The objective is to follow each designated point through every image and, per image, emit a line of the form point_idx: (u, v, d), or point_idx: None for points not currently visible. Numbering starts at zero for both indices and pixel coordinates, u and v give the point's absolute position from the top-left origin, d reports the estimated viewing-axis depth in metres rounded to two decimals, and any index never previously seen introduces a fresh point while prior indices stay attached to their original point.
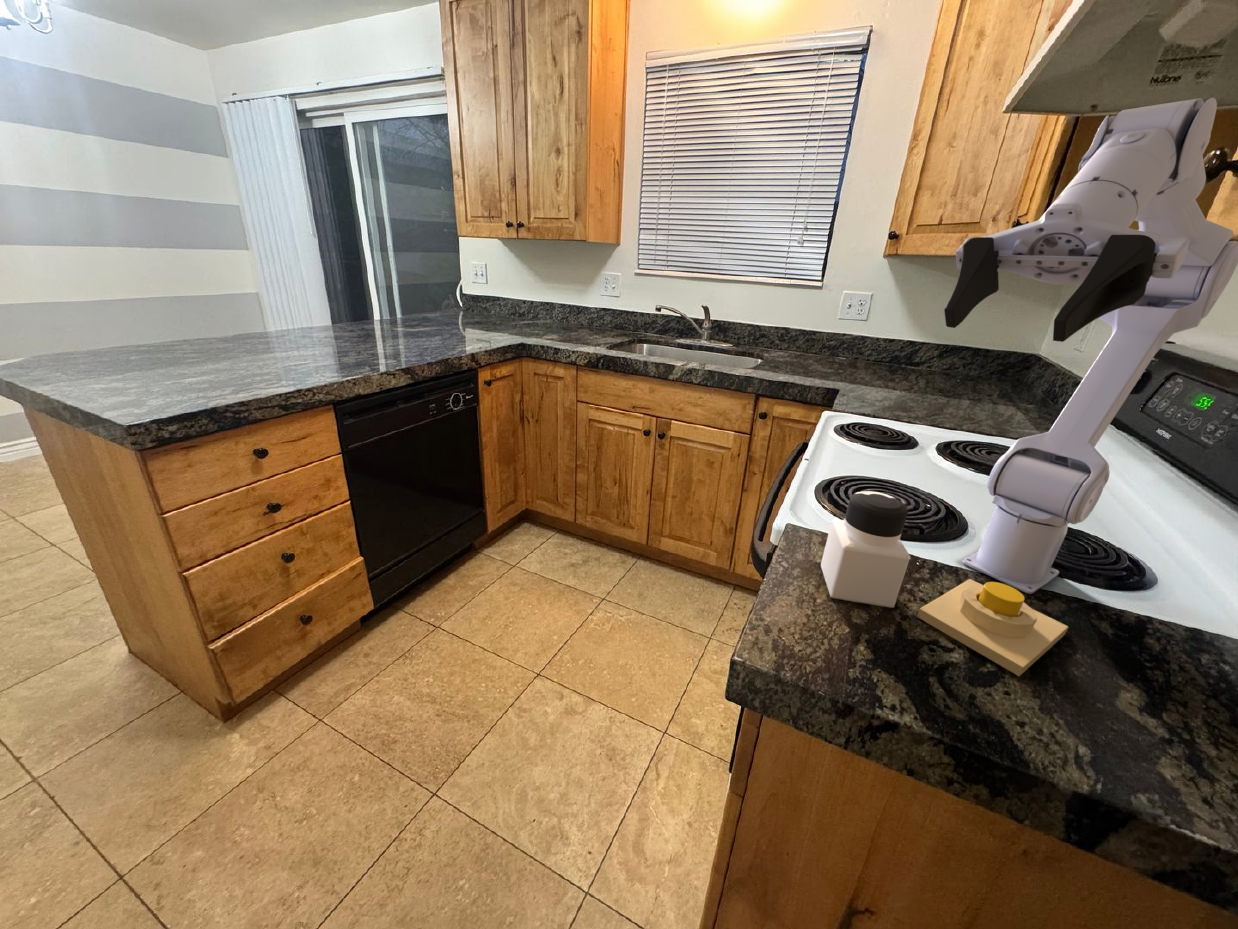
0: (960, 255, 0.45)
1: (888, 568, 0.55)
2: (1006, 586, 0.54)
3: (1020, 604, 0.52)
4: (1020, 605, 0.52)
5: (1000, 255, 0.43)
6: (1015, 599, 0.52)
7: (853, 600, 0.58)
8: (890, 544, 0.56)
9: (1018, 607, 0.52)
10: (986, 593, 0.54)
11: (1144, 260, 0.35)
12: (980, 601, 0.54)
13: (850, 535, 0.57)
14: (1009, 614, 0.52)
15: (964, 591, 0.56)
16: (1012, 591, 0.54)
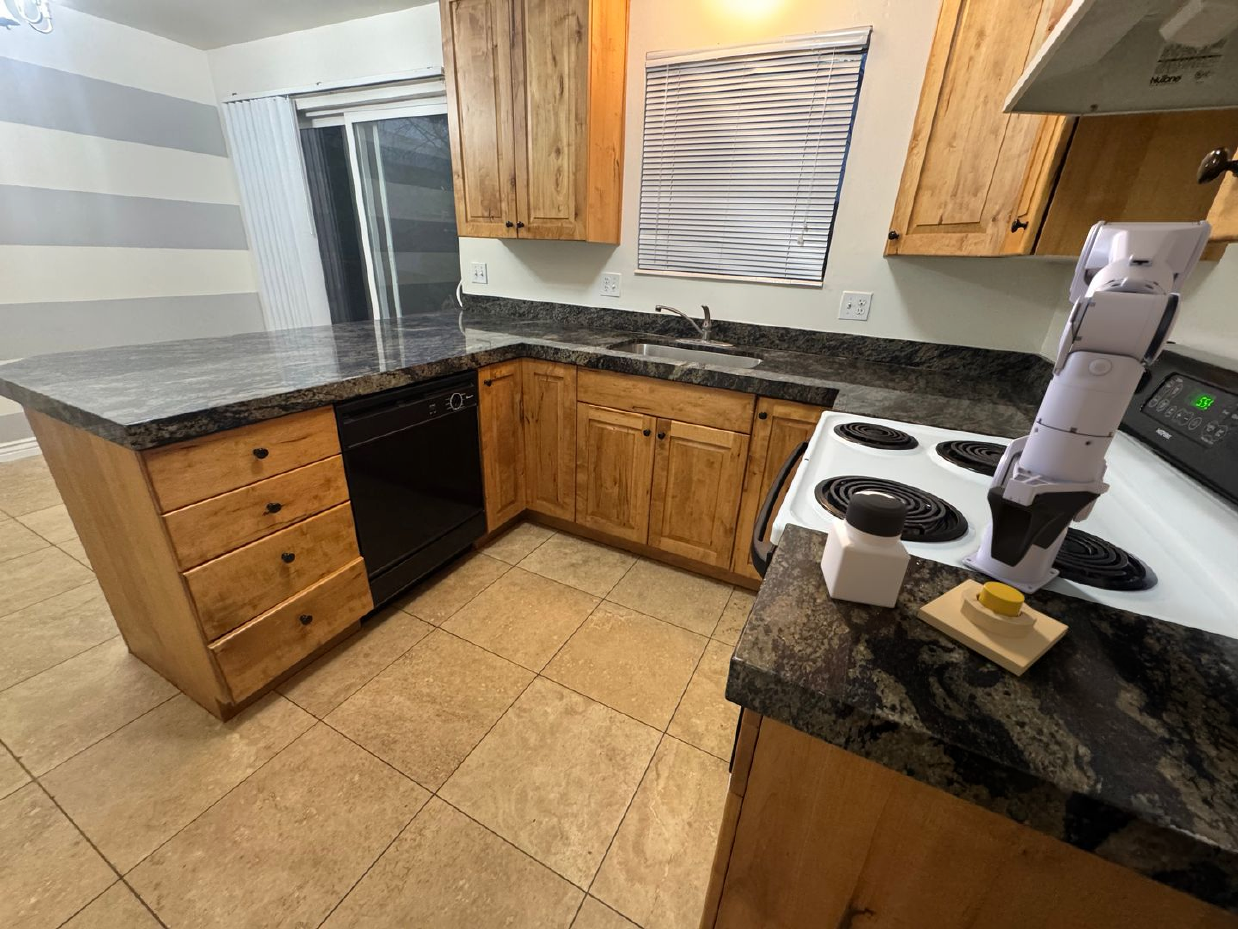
0: None
1: (888, 568, 0.55)
2: (1006, 586, 0.54)
3: (1020, 604, 0.52)
4: (1020, 605, 0.52)
5: None
6: (1015, 599, 0.52)
7: (853, 600, 0.58)
8: (890, 544, 0.56)
9: (1018, 607, 0.52)
10: (986, 593, 0.54)
11: None
12: (980, 601, 0.54)
13: (850, 535, 0.57)
14: (1009, 614, 0.52)
15: (964, 591, 0.56)
16: (1012, 591, 0.54)
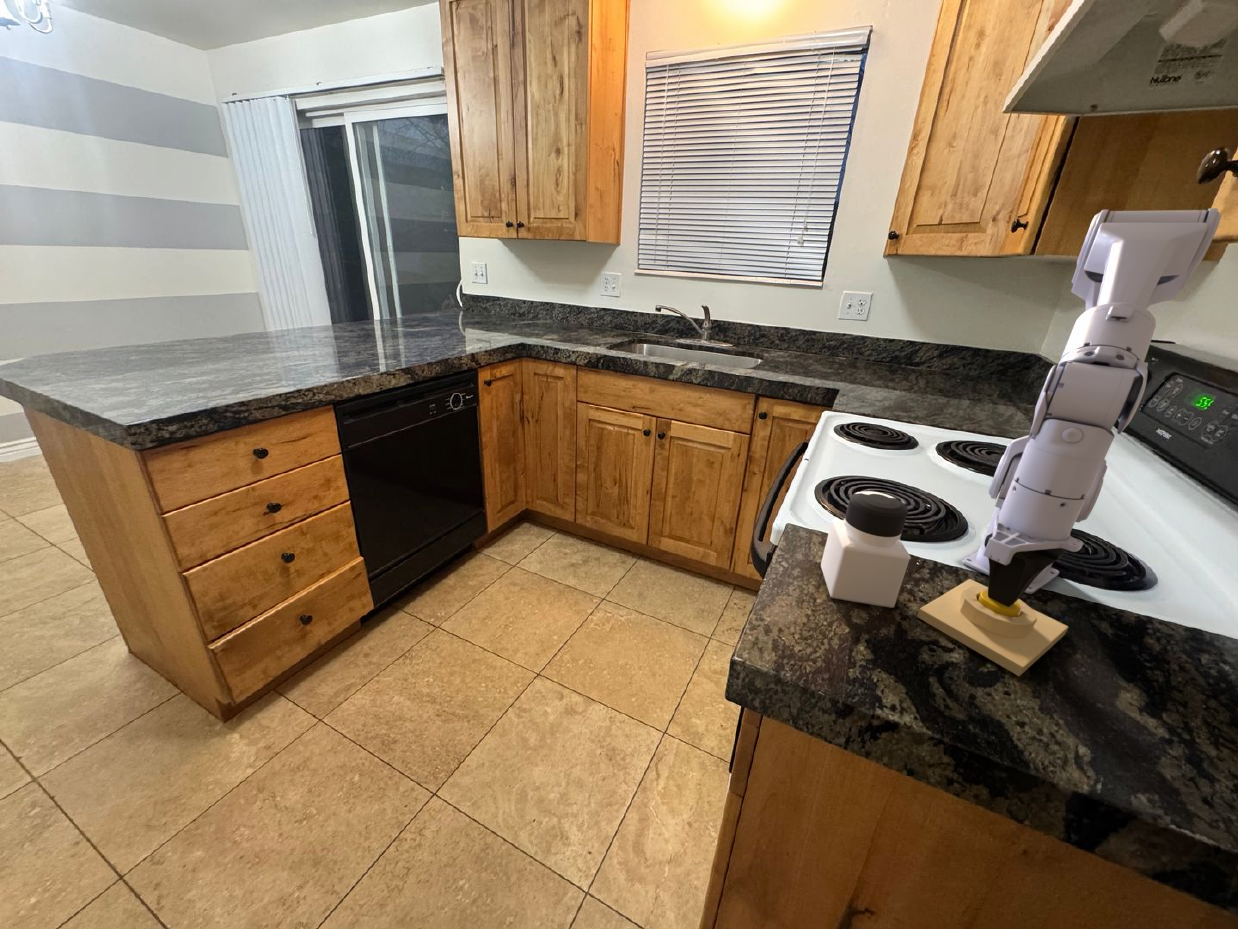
0: None
1: (888, 568, 0.55)
2: None
3: (1016, 613, 0.52)
4: (1016, 614, 0.53)
5: None
6: (1011, 607, 0.53)
7: (853, 600, 0.58)
8: (890, 544, 0.56)
9: (1014, 616, 0.53)
10: (983, 601, 0.54)
11: None
12: None
13: (850, 535, 0.57)
14: None
15: (964, 591, 0.56)
16: None
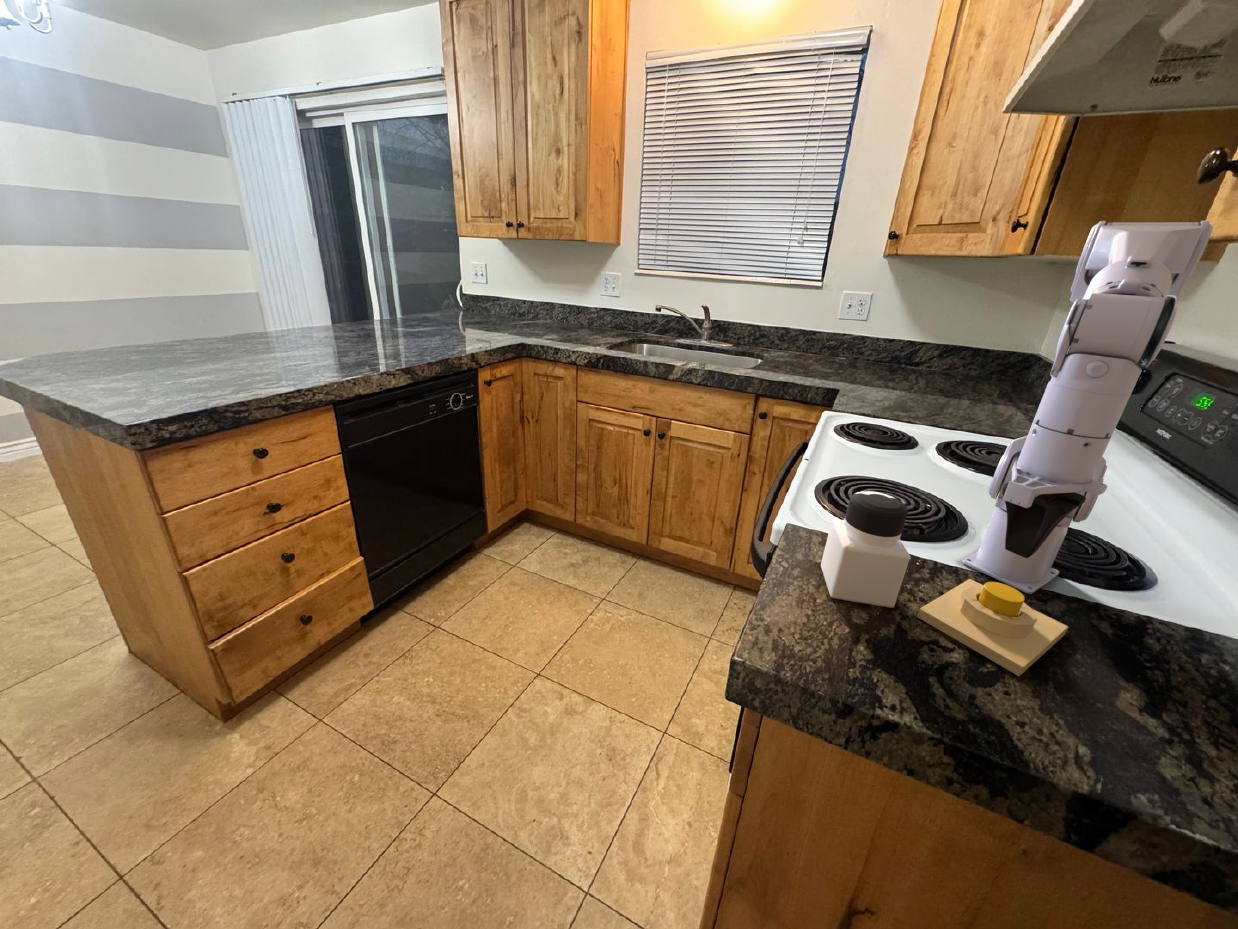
0: None
1: (888, 568, 0.55)
2: (1006, 586, 0.54)
3: (1020, 604, 0.52)
4: (1020, 605, 0.52)
5: None
6: (1015, 599, 0.52)
7: (853, 600, 0.58)
8: (890, 544, 0.56)
9: (1018, 607, 0.52)
10: (986, 593, 0.54)
11: None
12: (980, 601, 0.54)
13: (850, 535, 0.57)
14: (1009, 614, 0.52)
15: (964, 591, 0.56)
16: (1012, 591, 0.54)
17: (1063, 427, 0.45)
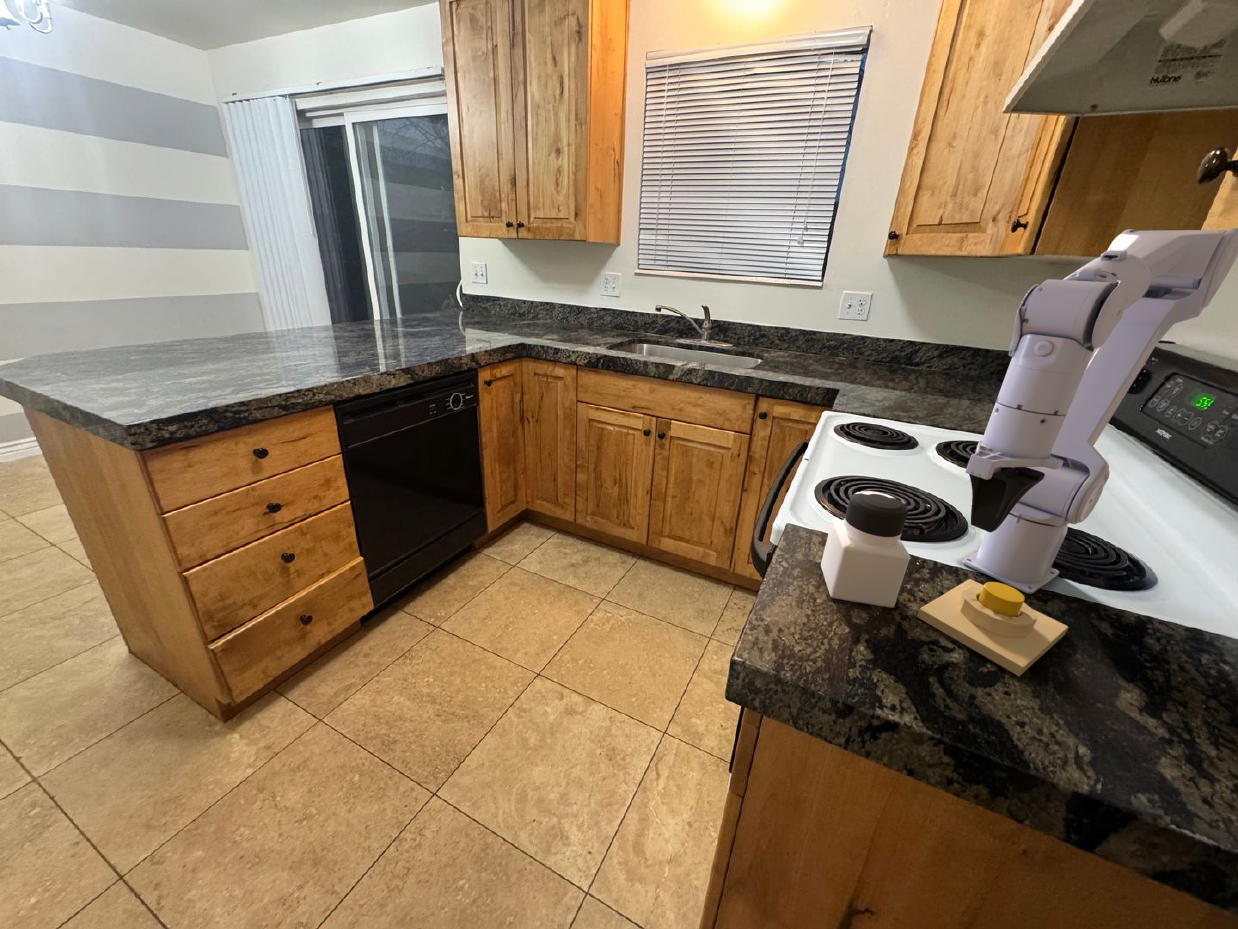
0: None
1: (888, 568, 0.55)
2: (1006, 586, 0.54)
3: (1020, 604, 0.52)
4: (1020, 605, 0.52)
5: (996, 468, 0.49)
6: (1015, 599, 0.52)
7: (853, 600, 0.58)
8: (890, 544, 0.56)
9: (1018, 607, 0.52)
10: (986, 593, 0.54)
11: None
12: (980, 601, 0.54)
13: (850, 535, 0.57)
14: (1009, 614, 0.52)
15: (964, 591, 0.56)
16: (1012, 591, 0.54)
17: (1014, 403, 0.48)
